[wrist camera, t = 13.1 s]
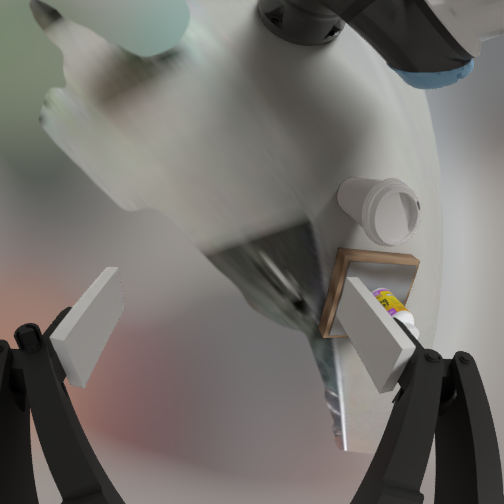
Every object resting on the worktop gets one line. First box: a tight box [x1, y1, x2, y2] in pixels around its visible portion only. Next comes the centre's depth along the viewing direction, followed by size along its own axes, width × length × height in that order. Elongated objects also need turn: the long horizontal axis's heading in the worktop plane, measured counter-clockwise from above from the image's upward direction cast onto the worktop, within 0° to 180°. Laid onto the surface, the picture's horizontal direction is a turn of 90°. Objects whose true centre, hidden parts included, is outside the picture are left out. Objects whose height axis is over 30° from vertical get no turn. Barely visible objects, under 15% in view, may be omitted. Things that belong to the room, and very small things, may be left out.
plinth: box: [318, 248, 420, 338], centre depth 51 cm, size 18×18×4 cm
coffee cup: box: [337, 178, 421, 246], centre depth 39 cm, size 10×10×15 cm
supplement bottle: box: [371, 288, 419, 339], centre depth 43 cm, size 7×7×13 cm
